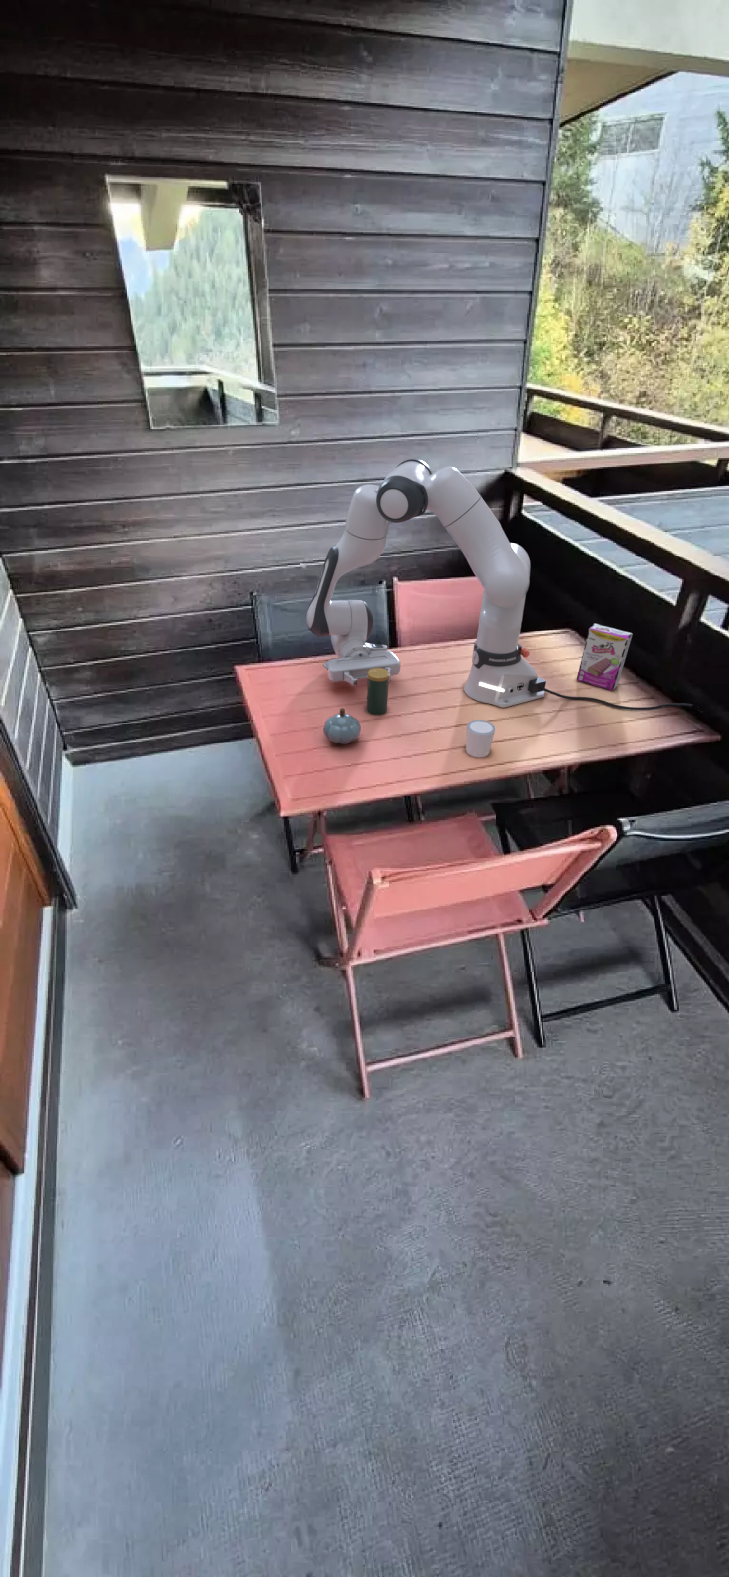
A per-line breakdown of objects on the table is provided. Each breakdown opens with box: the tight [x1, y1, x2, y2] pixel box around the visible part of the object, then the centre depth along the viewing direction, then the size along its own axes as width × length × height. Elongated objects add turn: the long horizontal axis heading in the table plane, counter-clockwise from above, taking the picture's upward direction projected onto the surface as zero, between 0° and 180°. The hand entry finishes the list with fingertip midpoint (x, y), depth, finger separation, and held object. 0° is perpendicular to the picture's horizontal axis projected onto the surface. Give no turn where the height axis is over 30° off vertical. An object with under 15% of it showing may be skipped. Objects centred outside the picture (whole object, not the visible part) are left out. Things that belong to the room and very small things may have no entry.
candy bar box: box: [576, 623, 634, 692], centre depth 198 cm, size 11×5×16 cm, turn 58°
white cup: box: [465, 719, 496, 758], centre depth 170 cm, size 7×7×7 cm
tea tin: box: [366, 668, 390, 716], centre depth 183 cm, size 6×6×11 cm
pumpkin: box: [322, 707, 362, 745], centre depth 171 cm, size 9×9×9 cm
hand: (371, 680), depth 187 cm, fingers open, 8 cm apart
